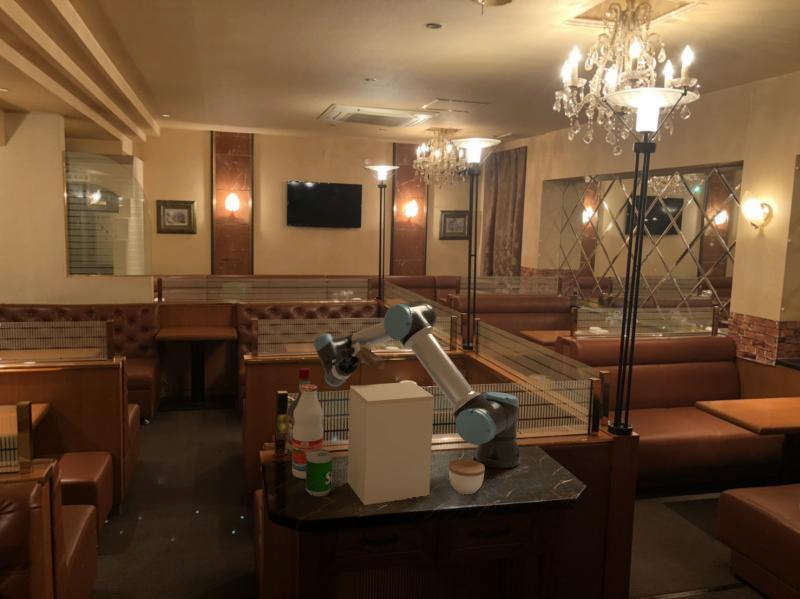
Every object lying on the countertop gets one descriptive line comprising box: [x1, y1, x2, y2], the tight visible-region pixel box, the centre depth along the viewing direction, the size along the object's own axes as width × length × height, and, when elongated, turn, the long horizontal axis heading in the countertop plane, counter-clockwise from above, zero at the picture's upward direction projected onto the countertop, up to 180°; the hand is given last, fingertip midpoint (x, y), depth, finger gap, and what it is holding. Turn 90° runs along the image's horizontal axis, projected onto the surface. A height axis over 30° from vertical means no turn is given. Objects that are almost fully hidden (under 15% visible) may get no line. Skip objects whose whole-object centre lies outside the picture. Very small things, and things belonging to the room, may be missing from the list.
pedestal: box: [346, 381, 435, 506], centre depth 182 cm, size 20×16×30 cm
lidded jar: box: [448, 458, 486, 495], centre depth 185 cm, size 11×11×9 cm
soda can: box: [305, 448, 334, 497], centre depth 180 cm, size 8×8×12 cm
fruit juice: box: [291, 383, 324, 480], centre depth 192 cm, size 9×9×28 cm
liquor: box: [286, 367, 311, 460], centre depth 205 cm, size 9×9×30 cm
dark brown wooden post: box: [351, 344, 385, 371], centre depth 200 cm, size 3×24×3 cm, turn 22°
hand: (363, 346), depth 203 cm, fingers closed on dark brown wooden post, 3 cm apart
